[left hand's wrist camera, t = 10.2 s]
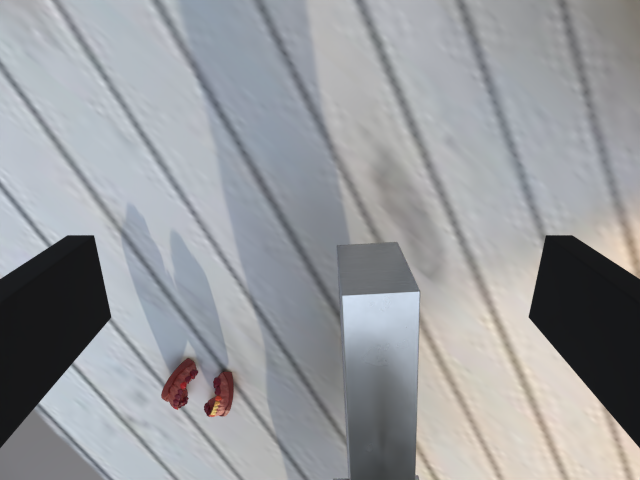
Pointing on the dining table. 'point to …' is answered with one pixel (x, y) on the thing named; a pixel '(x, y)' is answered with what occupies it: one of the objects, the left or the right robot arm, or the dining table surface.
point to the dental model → (178, 393)
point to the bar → (379, 360)
